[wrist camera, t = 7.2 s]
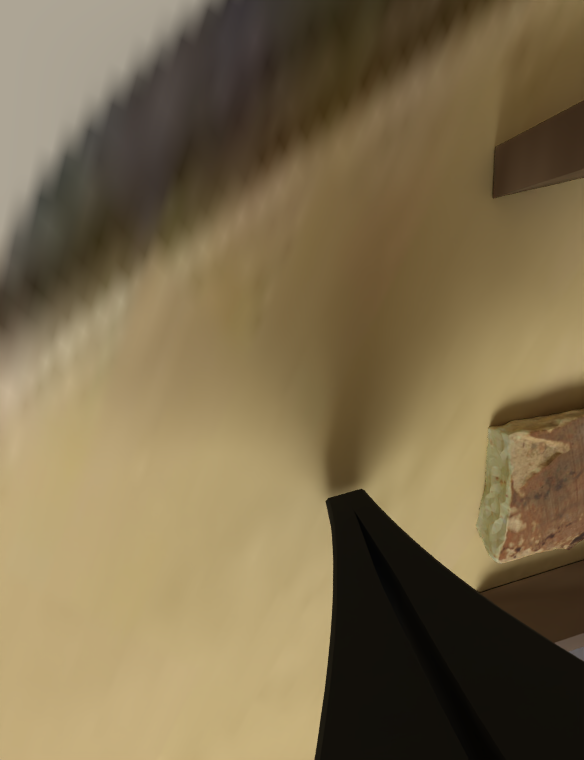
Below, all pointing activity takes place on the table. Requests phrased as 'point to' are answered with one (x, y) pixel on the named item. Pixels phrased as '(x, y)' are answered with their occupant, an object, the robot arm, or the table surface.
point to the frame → (511, 175)
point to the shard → (533, 486)
